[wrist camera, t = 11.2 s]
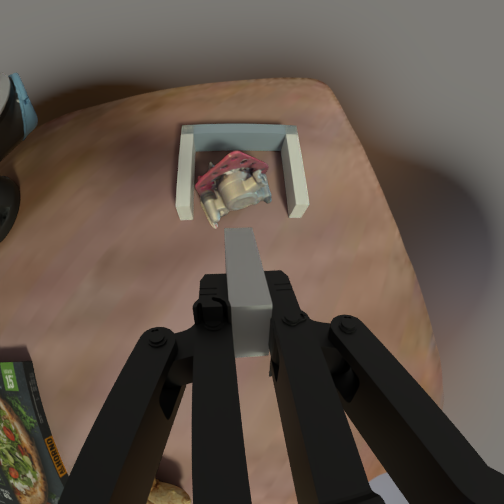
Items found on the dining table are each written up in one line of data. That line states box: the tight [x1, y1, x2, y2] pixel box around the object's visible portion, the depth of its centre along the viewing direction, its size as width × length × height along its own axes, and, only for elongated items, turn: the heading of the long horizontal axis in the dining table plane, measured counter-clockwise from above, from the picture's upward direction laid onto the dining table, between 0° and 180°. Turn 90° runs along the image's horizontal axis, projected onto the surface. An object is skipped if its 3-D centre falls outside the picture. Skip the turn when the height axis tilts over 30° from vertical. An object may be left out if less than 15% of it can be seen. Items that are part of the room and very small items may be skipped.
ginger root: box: [146, 478, 191, 504], centre depth 28 cm, size 16×16×8 cm
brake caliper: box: [195, 151, 271, 228], centre depth 42 cm, size 11×11×12 cm
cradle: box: [176, 124, 309, 220], centre depth 44 cm, size 15×19×5 cm
